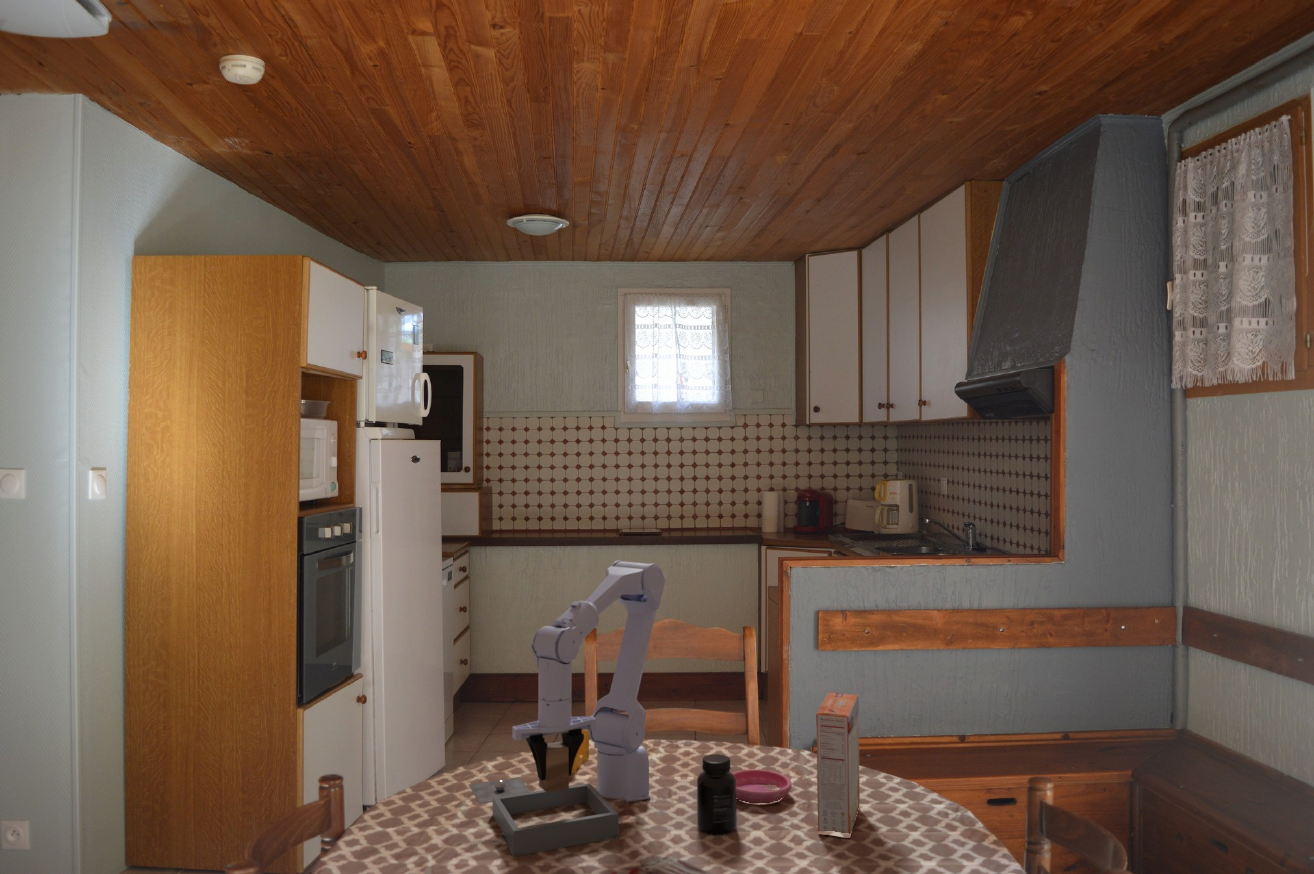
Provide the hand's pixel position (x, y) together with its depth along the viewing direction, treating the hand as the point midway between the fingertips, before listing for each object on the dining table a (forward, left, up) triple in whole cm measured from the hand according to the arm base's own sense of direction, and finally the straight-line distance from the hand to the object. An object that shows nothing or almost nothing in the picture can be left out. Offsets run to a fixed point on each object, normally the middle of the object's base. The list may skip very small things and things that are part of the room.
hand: (554, 776), depth 153 cm
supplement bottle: (-26, +10, -9) cm, 30 cm away
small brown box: (0, 0, -2) cm, 2 cm away
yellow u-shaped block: (-12, -28, -9) cm, 32 cm away
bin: (0, 0, -9) cm, 9 cm away
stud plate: (+5, -19, -9) cm, 21 cm away
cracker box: (-47, +16, -9) cm, 51 cm away
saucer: (-40, 0, -10) cm, 41 cm away
